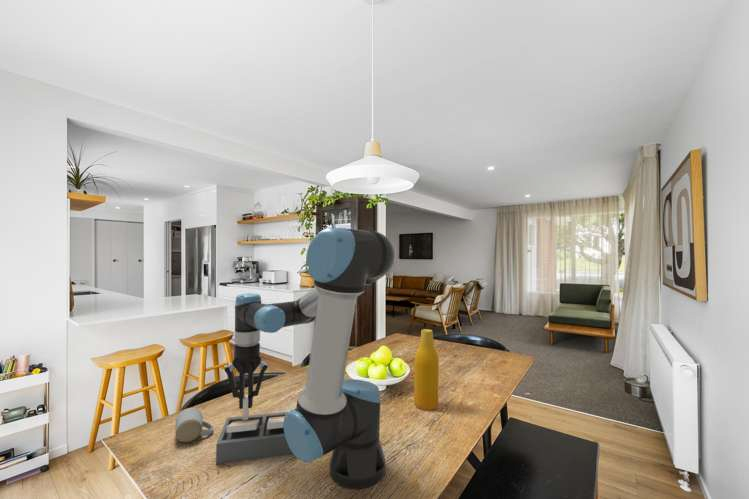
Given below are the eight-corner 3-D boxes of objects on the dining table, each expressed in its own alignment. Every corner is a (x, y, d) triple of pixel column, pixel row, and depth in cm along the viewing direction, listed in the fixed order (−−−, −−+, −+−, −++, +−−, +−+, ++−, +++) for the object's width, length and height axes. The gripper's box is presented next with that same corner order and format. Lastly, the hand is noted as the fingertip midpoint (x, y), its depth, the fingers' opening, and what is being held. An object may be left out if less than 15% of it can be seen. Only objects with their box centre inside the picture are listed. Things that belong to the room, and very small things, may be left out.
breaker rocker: (257, 429, 96) (257, 422, 97) (224, 433, 94) (225, 426, 95) (260, 425, 105) (260, 419, 106) (230, 428, 103) (231, 421, 104)
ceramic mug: (174, 447, 99) (175, 421, 99) (175, 434, 106) (176, 409, 106) (214, 438, 104) (215, 413, 104) (211, 426, 111) (212, 403, 111)
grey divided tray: (301, 453, 97) (302, 424, 97) (216, 464, 91) (216, 433, 91) (300, 427, 111) (301, 402, 111) (226, 435, 106) (227, 408, 106)
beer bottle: (442, 405, 129) (443, 330, 129) (429, 413, 122) (430, 334, 122) (423, 398, 135) (423, 326, 136) (409, 405, 128) (410, 330, 129)
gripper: (269, 339, 110) (268, 410, 110) (227, 340, 107) (225, 414, 107) (268, 345, 102) (266, 422, 102) (222, 347, 99) (220, 426, 99)
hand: (245, 417), depth 105 cm, fingers closed
